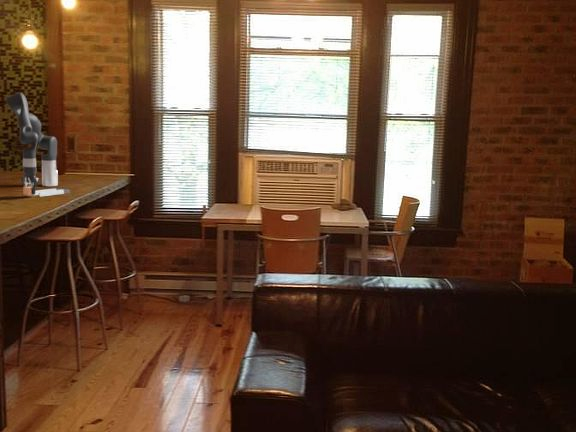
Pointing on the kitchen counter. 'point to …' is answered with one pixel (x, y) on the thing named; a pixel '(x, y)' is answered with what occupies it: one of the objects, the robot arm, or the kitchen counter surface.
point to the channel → (48, 192)
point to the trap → (64, 190)
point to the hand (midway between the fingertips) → (30, 193)
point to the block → (27, 191)
